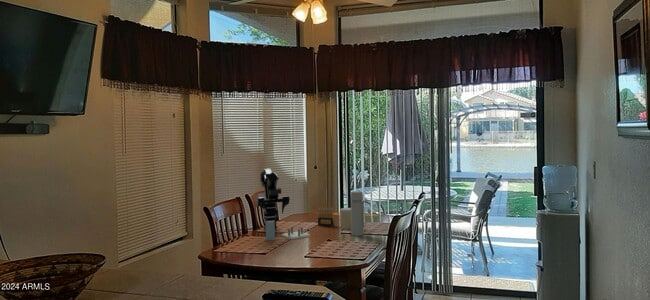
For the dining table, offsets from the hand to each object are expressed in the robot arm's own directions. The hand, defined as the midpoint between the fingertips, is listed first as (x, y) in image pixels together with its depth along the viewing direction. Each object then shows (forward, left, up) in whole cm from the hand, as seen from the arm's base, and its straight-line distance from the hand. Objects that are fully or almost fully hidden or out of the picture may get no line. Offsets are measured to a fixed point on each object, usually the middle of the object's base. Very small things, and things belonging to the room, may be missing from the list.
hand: (274, 213), depth 281 cm
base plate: (+12, +4, -13) cm, 18 cm away
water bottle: (+44, +22, -13) cm, 51 cm away
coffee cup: (+28, +38, -13) cm, 49 cm away
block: (+3, -8, -13) cm, 16 cm away
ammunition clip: (+11, +40, -13) cm, 43 cm away
